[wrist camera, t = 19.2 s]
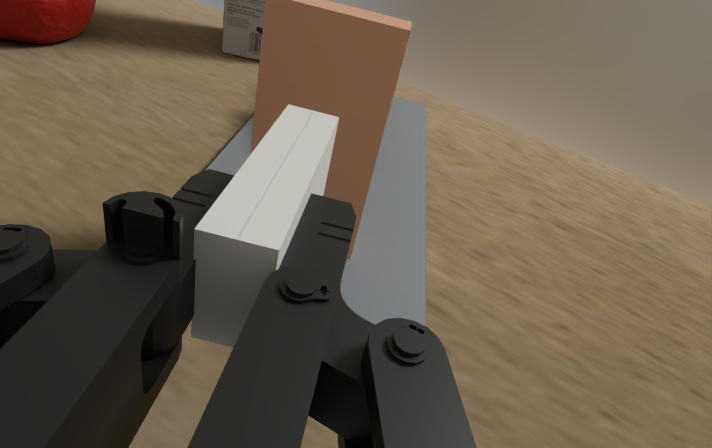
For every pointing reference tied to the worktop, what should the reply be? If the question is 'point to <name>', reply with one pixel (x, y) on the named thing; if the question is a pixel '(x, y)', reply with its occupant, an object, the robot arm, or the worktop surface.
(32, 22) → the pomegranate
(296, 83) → the tile
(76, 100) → the worktop surface
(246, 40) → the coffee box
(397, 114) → the slate board
